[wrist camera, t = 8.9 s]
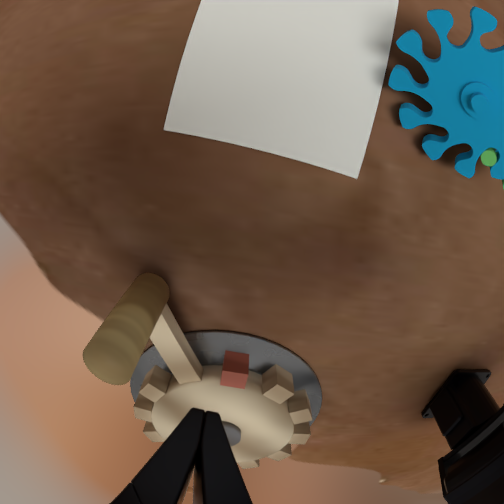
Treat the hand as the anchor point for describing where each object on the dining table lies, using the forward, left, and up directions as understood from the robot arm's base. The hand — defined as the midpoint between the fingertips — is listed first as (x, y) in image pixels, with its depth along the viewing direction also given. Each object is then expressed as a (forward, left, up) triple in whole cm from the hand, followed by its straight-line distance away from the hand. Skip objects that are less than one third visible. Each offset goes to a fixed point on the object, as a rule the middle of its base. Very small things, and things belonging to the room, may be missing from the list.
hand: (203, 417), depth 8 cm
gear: (-10, -14, -11) cm, 20 cm away
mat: (0, -14, -11) cm, 17 cm away
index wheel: (0, +11, -10) cm, 15 cm away
